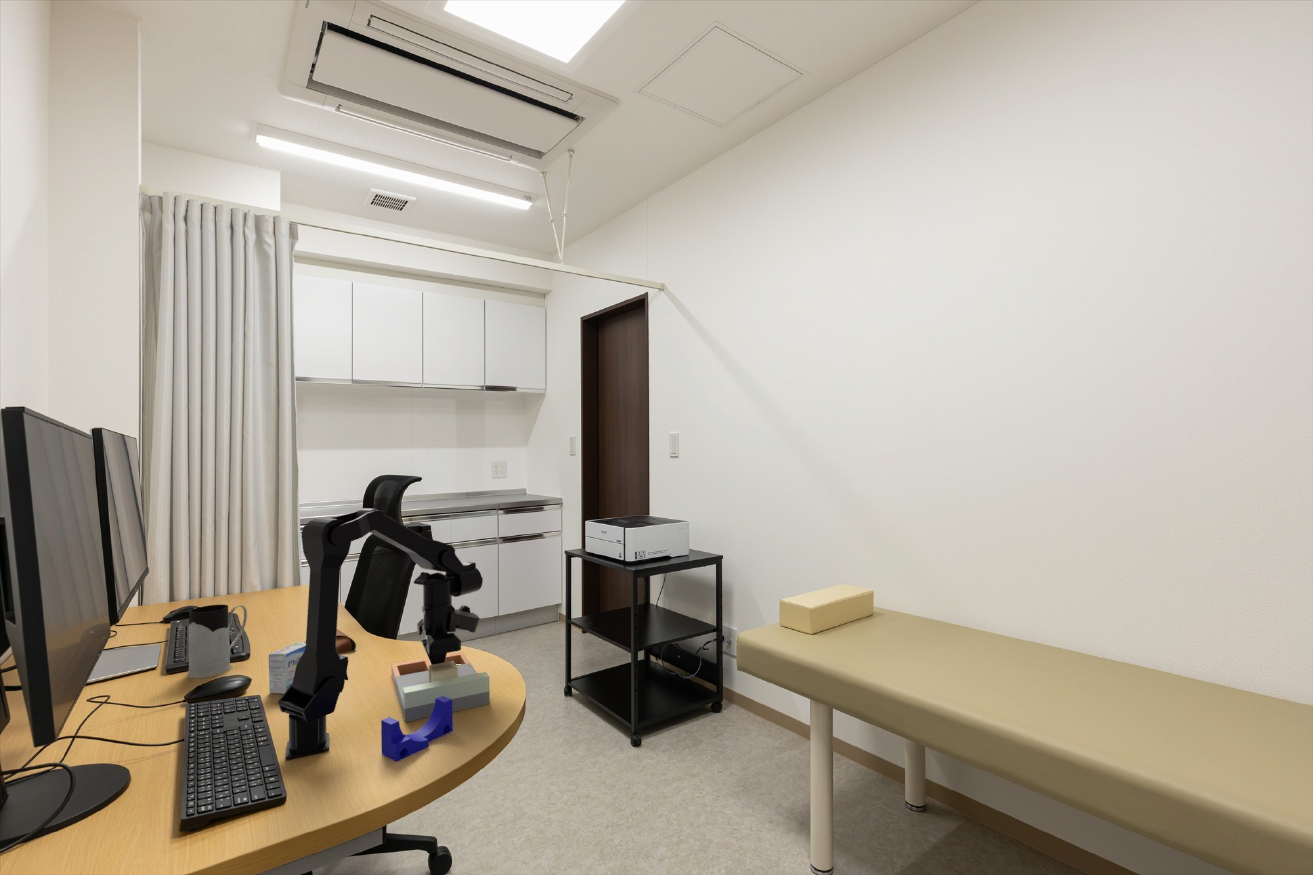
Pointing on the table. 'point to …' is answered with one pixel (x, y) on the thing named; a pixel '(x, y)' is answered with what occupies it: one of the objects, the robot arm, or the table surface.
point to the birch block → (442, 671)
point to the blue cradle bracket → (406, 745)
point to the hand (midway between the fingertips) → (438, 674)
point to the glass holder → (210, 640)
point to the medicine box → (284, 667)
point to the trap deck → (430, 707)
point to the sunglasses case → (344, 643)
